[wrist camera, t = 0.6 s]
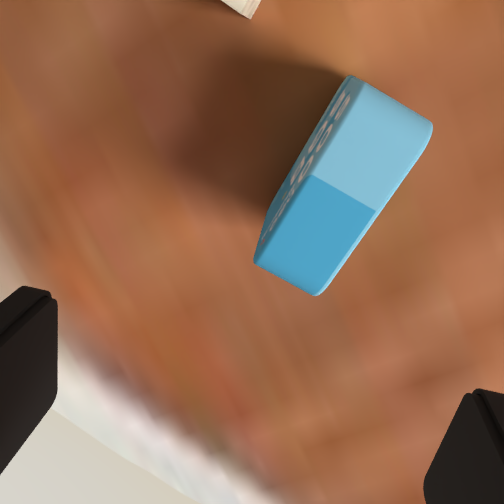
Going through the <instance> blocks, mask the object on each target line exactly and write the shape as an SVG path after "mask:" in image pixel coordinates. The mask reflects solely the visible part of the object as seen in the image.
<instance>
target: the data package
mask: <svg viewBox="0 0 504 504" xmlns="http://www.w3.org/2000/svg"><path fill="white" fill-rule="evenodd" d="M432 130H433V126H432V123H431V122H430V121H429V120H428V119H426V118H424V117H423V116H421V115H419V114H418V113H416V112H414V111H413V110H411V109H409V108H408V107H406V106H404V105H403V104H401V103H399V102H398V101H396V100H394V99H393V98H391V97H389V96H388V95H386V94H384V93H383V92H381V91H379V90H378V89H376V88H374V87H373V86H371V85H369V84H368V83H366V82H364V81H362V80H360V79H358V78H356V77H354V76H352V75H349V76H347V77H346V78H345V80H344V81H343V82H342V84H341V85H340V87H339V89H338V90H337V92H336V93H335V95H334V97H333V99H332V100H331V102H330V104H329V105H328V107H327V109H326V110H325V112H324V114H323V116H322V117H321V119H320V121H319V122H318V124H317V126H316V127H315V129H314V131H313V133H312V134H311V136H310V138H309V139H308V141H307V143H306V144H305V146H304V148H303V150H302V151H301V153H300V155H299V156H298V158H297V160H296V161H295V163H294V165H293V167H292V168H291V170H290V172H289V173H288V175H287V177H286V178H285V180H284V182H283V184H282V185H281V187H280V189H279V190H278V192H277V194H276V196H275V197H274V199H273V201H272V203H271V205H270V207H269V209H268V211H267V214H266V217H265V221H264V224H263V227H262V231H261V234H260V238H259V241H258V244H257V248H256V251H255V255H254V258H253V261H254V263H255V264H256V265H258V266H259V267H261V268H263V269H265V270H267V271H269V272H270V273H272V274H274V275H276V276H278V277H280V278H281V279H283V280H285V281H287V282H289V283H291V284H292V285H294V286H296V287H298V288H300V289H302V290H303V291H305V292H307V293H309V294H311V295H313V296H317V295H319V294H321V293H322V292H323V291H324V290H325V289H326V288H327V287H328V285H329V284H330V283H331V281H332V280H333V278H334V277H335V275H336V274H337V273H338V271H339V270H340V268H341V267H342V266H343V264H344V263H345V261H346V260H347V259H348V257H349V256H350V254H351V253H352V251H353V250H354V249H355V247H356V246H357V244H358V243H359V242H360V240H361V239H362V237H363V236H364V235H365V233H366V232H367V230H368V229H369V227H370V226H371V225H372V223H373V222H374V220H375V219H376V218H377V216H378V215H379V213H380V212H381V211H382V209H383V208H384V206H385V205H386V203H387V202H388V201H389V199H390V198H391V196H392V195H393V194H394V192H395V191H396V189H397V188H398V187H399V185H400V184H401V182H402V181H403V179H404V178H405V177H406V175H407V174H408V172H409V171H410V170H411V168H412V167H413V165H414V164H415V163H416V161H417V160H418V158H419V157H420V155H421V154H422V152H423V151H424V149H425V147H426V146H427V144H428V142H429V140H430V137H431V134H432Z"/></svg>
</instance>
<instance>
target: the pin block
mask: <svg viewBox="0 0 504 504" xmlns="http://www.w3.org/2000/svg"><path fill="white" fill-rule="evenodd" d="M222 1H223V2H225V3H226V4H227V5H229V6H230V7H232V8H233V9H234V10H236V11H237V12H239V13H240V14H242V15H244V16H245V17H247V18H249V19H250V20H251V18H252V16H253V14H254V12H255V11H256V9H257V7H258V5H259V3H260V2H261V0H222Z"/></svg>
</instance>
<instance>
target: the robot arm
mask: <svg viewBox="0 0 504 504" xmlns="http://www.w3.org/2000/svg"><path fill="white" fill-rule="evenodd" d="M57 359H58V305H57V301H56V300H55V299H52V297H51V294H50V292H49V291H46V290H41V289H37V288H33V287H28V286H22V287H20V288H18V289H17V290H16V291H15V292H13V293H12V294H11V295H10V296H8V297H7V298H6V299H5V300H3V301H2V302H1V303H0V474H1V473H2V472H3V470H4V469H5V468H6V466H7V465H8V463H9V462H10V461H11V460H12V458H13V457H14V456H15V454H16V453H17V452H18V450H19V449H20V448H21V446H22V445H23V444H24V442H25V441H26V440H27V438H28V437H29V435H30V434H31V433H32V432H33V430H34V429H35V427H36V426H37V425H38V424H39V422H40V421H41V419H42V418H43V417H44V415H45V414H46V413H47V411H48V410H49V409H50V407H51V406H52V404H53V403H54V400H55V398H56V395H57ZM423 489H424V497H425V501H426V504H504V394H502V393H497V392H493V391H488V390H484V389H476V390H474V391H473V393H472V394H471V393H466V394H465V395H464V397H463V399H462V401H461V403H460V405H459V407H458V409H457V411H456V413H455V415H454V417H453V419H452V422H451V424H450V426H449V428H448V430H447V432H446V434H445V436H444V438H443V440H442V442H441V444H440V447H439V449H438V451H437V453H436V455H435V457H434V459H433V461H432V463H431V465H430V467H429V470H428V472H427V474H426V476H425V479H424V486H423Z"/></svg>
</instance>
